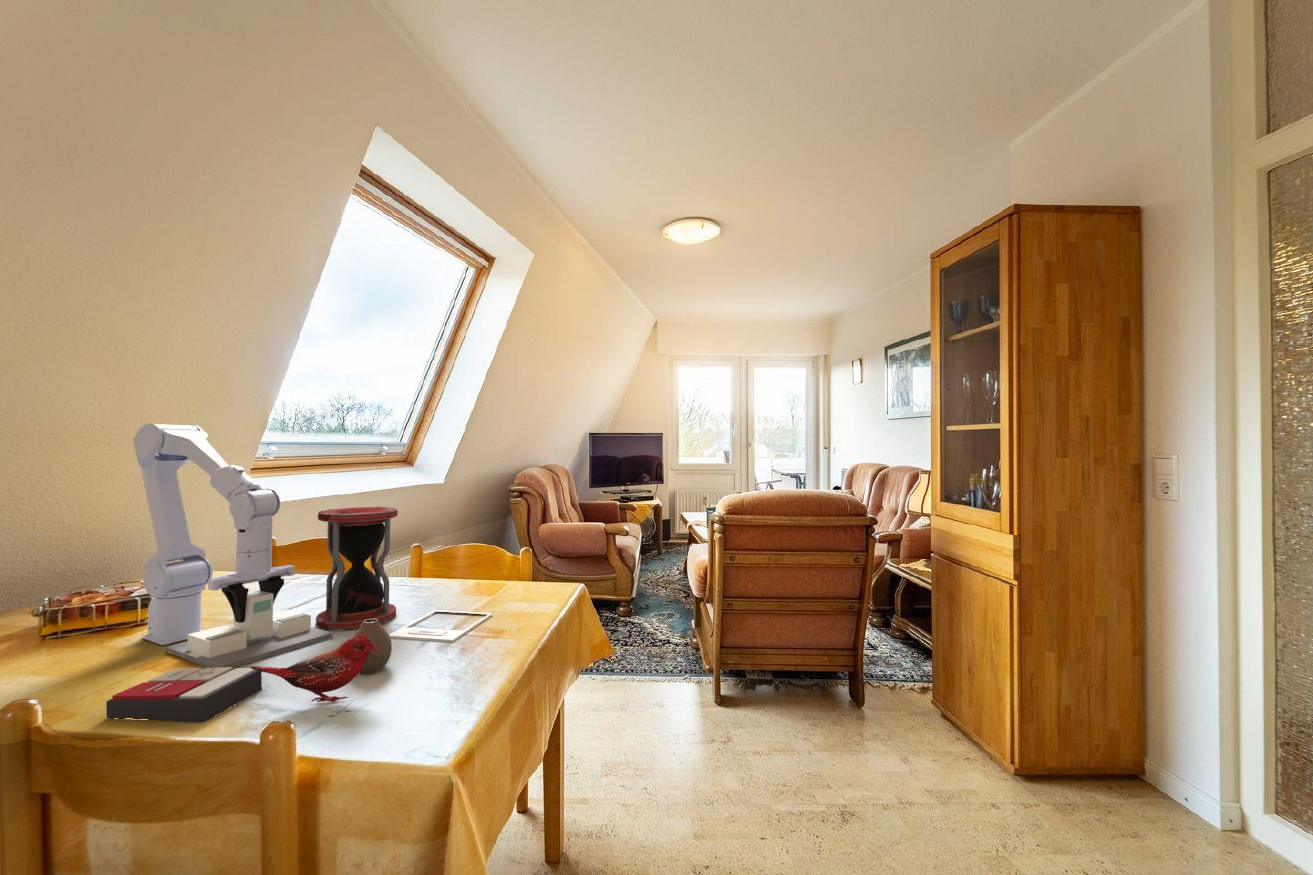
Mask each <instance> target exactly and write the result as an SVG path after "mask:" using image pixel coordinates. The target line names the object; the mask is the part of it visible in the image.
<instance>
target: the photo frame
mask: <svg viewBox="0 0 1313 875" xmlns="http://www.w3.org/2000/svg"><path fill="white" fill-rule="evenodd" d="M435 611H441V612H457V613H468V614H467V615H472V614H484V615H483V617H481V619H479V620H478V621H476V622H474V623H473V624H472V625H470V626H468V627H466V628H465V629H464V630H453V629H452V630H451V629H435V628H421V627H419V628H418V627H413V626H416V625H417V624H419V623H421V622H422V621H425V620H427V619H428V618H430V617H431V616H430V615H432V614H434V615H435V613H436V612H435ZM434 612H435V613H434ZM492 615H493V613H492V612H473V611H472V612H471V611H456V610H454V611H452V610H440V609H439V610H438V609H436V610H435V609H434V611H433V610H432V611H431V612H429V613H427V614H426V615H423V616H421V617H420V618H417V619H415V620H413V621H412V622H410V623H408V624H406V625H405V626H402V627H401V628H399V629H397V630H395V631H393V632H391V633H388V634H389V636H390V639H394V640H395V639H397V640H410V641H424V642H425V641H426V642H428V641H429V642H440V641H441V642H443V643H454V642H456V641H457V640H459V639H460V638H461V637H463V636H465V635H466V634H468V633H469V632H471V631H472V630H474V629H475V628H476V627H477V625H478V626H479V625H481V624H482V623H484V622H485V621H486V620H487V621H488V619H490V618H491V617H492ZM429 616H430V617H429ZM432 616H433V615H432ZM490 616H491V617H490ZM427 617H428V618H427ZM489 617H490V618H489ZM424 619H425V620H424ZM420 621H421V622H420ZM483 621H484V622H483ZM418 622H419V623H418ZM481 622H482V623H481ZM480 623H481V624H480ZM441 642H440V643H441Z"/></svg>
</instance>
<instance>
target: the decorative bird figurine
mask: <svg viewBox="0 0 1313 875" xmlns="http://www.w3.org/2000/svg"><path fill="white" fill-rule="evenodd" d="M352 637H353V636H352ZM352 637H350V638H348V639H347V640H345V641H344V642H343V643H342V644H340V645H339V646H337V648H335V649H332V650H331V651H328V652H325V653H322V654H318V655H314V656H312V657H309V658H306V659H303V660H300V661H299V662H297V663H296V662H295V663H294V664H292V665H290V666H288V667H272V666H256V665H255V666H253V665H252V666H250V667H249V668H251V669H254V670H258V671H261V673H266V674H270V675H274V676H277V677H279V678H282V679H283V680H284V681H286V682H287V683H289V684H290V685H291V686H293V687H294V688H299V689H302V690H304V691H305V690H306V691H308V692H311V693H312V694H314V695H316V696H319V697H314V698H313V699H311V700H310V702H315V701H316V703H320V702H321V703H322V702H332V703H333V702H336V701H339V700H342V699H348V698H349V697H348V696H342V697H341V696H340V697H339V696H338V695H337V696H330V695H327V694H326V693H329V692H334V691H336V690H339V689H342V688H343V687H345V686H346V685H349V684H350V683H351V682H352V681H353V680H354V679H355V678H356V677H358V675H360V674H359V672H360V671H361V669H362V667H363V665H364V663H365V661H366V659H367V658H368V656H369V652H370V650H372V649H377V647H376V646H375V645H373V644H372V643H371V642H370V639H369V638H368V637H367V636H365V635H357V636H355V637H353V638H352ZM324 693H325V694H324Z"/></svg>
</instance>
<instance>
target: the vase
mask: <svg viewBox="0 0 1313 875" xmlns="http://www.w3.org/2000/svg"><path fill="white" fill-rule="evenodd" d="M389 634H390V633H389V632H388V631H387V629H385V627H383V626H382V624H380V623H379V621H378V619H367V620H364V621H363V622H362V625H361V626H360V628H359V629H357V630H356V632H355V633H354V635H353V636H352V637H351V638H353V637H355V636H357V635H365V636H367V637H368V638H369V639H370V642H371V643H372V644H373V645H375V646H376V647H377V649H372V650H370V652H369V656H368V658H367V659H366V661H365V663H364V665H363V667H362V669H361V671H360V672H359V674H358V675H363V676H364V675H365V676H367V675H372V674H376V673H378V672H380V671H382V670H383V669H384V668H385V667H386V665H387V664H388V662H389V661H390V658H391V655H392V638H390V636H389Z"/></svg>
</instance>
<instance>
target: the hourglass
mask: <svg viewBox="0 0 1313 875" xmlns="http://www.w3.org/2000/svg"><path fill="white" fill-rule="evenodd" d="M398 515H399V510H398V508H396V507H389V506H387V507H386V506H363V507H361V506H357V507H341V508H329V509H326V510H325V509H324V510H321V511H319V512H317V520H318V521H320V522H327V535H326V538H327V541H326V542H327V544H326V545H327V546H326V548H327V552H328V554H329V555H330V557H331V559H332V568H331V571H330V572H329V574H328V575H327V578H326V590H325V591H326V592H325V593H326V595H325V596H326V598H325V599H326V600H325V602H326V603H325V606H326V607H325V610H324V611H321V612H319V613H318V614H317V615H316V616H315V625H316V627H317V628H318V629H321V630H326V631H347V630H358V629H359V628H360V626H361V625H362V622H363V621H364V620H367V619H378V621H379V623H380V624H381V625H382V624H383V623H386V621H387V622H389V621H391V620H392V619H394V618H395V617H396V615H397V607H396V606H395V605H394V604H393V603H390V579H389V576H388V575H387V574H386V572H385V567H384V563H385V559H386V557H387V556H388V555H389V553H390V550H391V519H393V518H397V516H398ZM383 542H384V545H383V547H384V549H383V551H382V553H381V554H380V556H379V557H378V552H380V548H381V544H382V543H383ZM340 554H341V555H340ZM341 556H343V557H344V559H346V560H347V561H348V562H349V563H351V567H350V568H349V569H348V570H347V571H345V570H346V568H345V563H344V561H343V559H342V558H341ZM368 559H370V565H371V568H372V570H373V571H371V570H370V569H369V568H368V567H366V566H365V563H366V561H367V560H368ZM335 575H336V578H335V579H334V577H335ZM333 579H334V582H333ZM381 579H382V582H383V584H382V582H381Z"/></svg>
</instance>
